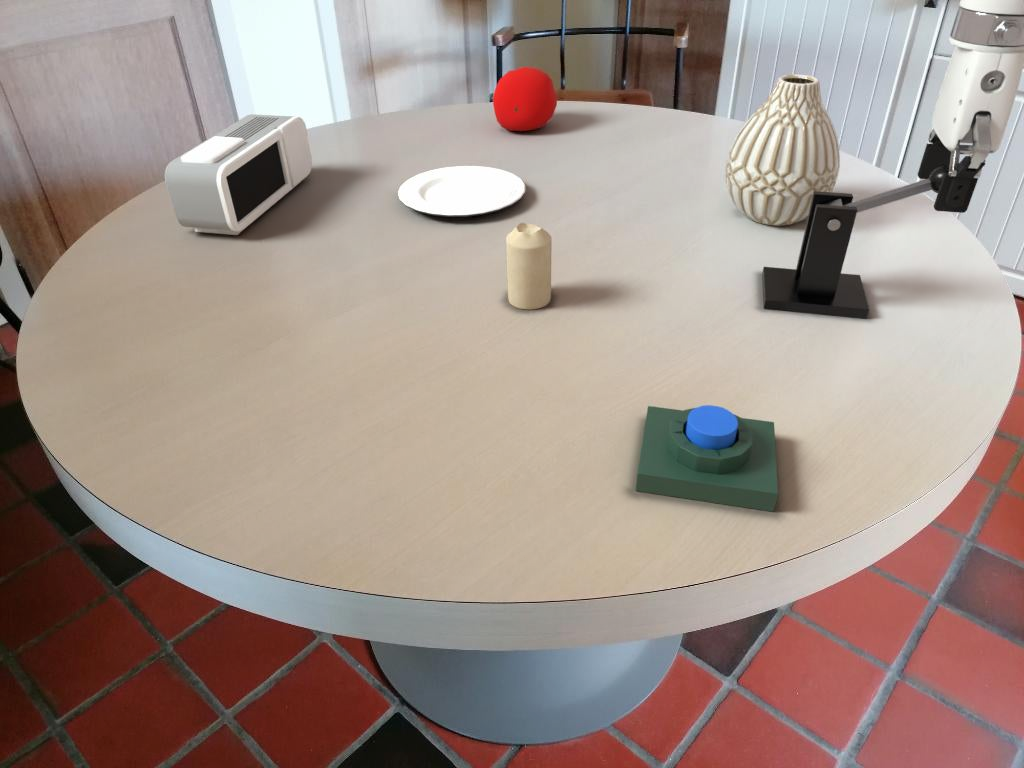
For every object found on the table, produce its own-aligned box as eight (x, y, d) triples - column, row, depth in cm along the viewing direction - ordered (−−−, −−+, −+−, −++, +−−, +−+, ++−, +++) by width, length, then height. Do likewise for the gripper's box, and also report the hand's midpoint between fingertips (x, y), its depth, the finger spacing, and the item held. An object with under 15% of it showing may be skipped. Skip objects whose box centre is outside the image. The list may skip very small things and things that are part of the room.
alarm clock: (237, 243, 112) (217, 165, 105) (181, 239, 113) (158, 161, 106) (315, 177, 133) (303, 108, 126) (267, 173, 135) (252, 105, 128)
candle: (558, 295, 97) (560, 223, 91) (536, 314, 93) (536, 240, 87) (522, 284, 100) (521, 214, 94) (499, 303, 96) (497, 230, 90)
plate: (533, 177, 130) (533, 167, 129) (516, 228, 114) (515, 216, 113) (416, 173, 133) (415, 163, 132) (383, 222, 117) (381, 211, 116)
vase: (850, 221, 113) (886, 83, 101) (771, 246, 107) (800, 101, 95) (772, 187, 125) (797, 59, 113) (697, 208, 119) (715, 74, 107)
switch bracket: (857, 283, 98) (884, 189, 90) (866, 318, 91) (896, 219, 83) (761, 275, 100) (780, 182, 93) (763, 308, 93) (783, 211, 86)
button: (735, 423, 70) (738, 408, 69) (735, 454, 66) (738, 438, 65) (687, 417, 71) (689, 402, 70) (684, 447, 67) (686, 432, 66)
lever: (960, 182, 85) (955, 156, 84) (966, 192, 83) (962, 166, 81) (821, 224, 92) (814, 201, 90) (823, 235, 89) (816, 212, 88)
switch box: (769, 439, 73) (777, 406, 71) (773, 512, 66) (782, 478, 63) (646, 422, 76) (649, 391, 73) (635, 491, 68) (638, 458, 66)
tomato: (519, 154, 149) (546, 136, 159) (553, 103, 140) (579, 86, 150) (470, 112, 149) (500, 96, 159) (501, 58, 140) (530, 45, 150)
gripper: (1066, 50, 67) (997, 228, 77) (1011, 12, 81) (958, 169, 91) (974, 47, 69) (918, 223, 79) (936, 11, 82) (892, 165, 92)
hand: (940, 193), depth 85 cm, fingers open, 9 cm apart
